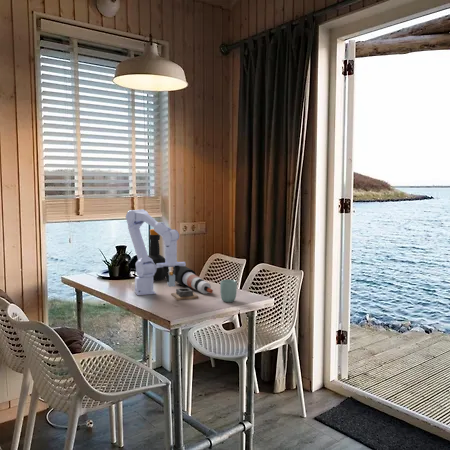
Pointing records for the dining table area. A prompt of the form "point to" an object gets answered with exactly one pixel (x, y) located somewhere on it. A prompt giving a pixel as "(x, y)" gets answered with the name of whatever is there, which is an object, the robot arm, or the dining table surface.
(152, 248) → the bottle
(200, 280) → the cable
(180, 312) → the dining table surface
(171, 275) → the connector
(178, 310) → the dining table surface
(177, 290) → the holder
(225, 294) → the cup
